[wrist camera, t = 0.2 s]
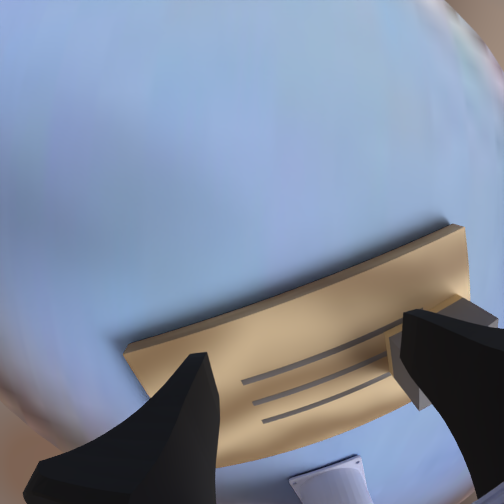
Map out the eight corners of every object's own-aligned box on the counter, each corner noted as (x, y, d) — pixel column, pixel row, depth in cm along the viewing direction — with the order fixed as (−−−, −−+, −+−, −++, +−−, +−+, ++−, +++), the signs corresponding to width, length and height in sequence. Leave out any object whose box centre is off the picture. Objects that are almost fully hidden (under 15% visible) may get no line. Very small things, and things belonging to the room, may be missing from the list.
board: (459, 360, 23) (467, 368, 21) (206, 458, 23) (206, 469, 22) (452, 223, 19) (464, 226, 18) (128, 343, 20) (122, 354, 19)
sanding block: (457, 334, 20) (493, 362, 15) (389, 372, 20) (419, 411, 15) (456, 293, 19) (498, 318, 14) (383, 332, 19) (418, 369, 14)
